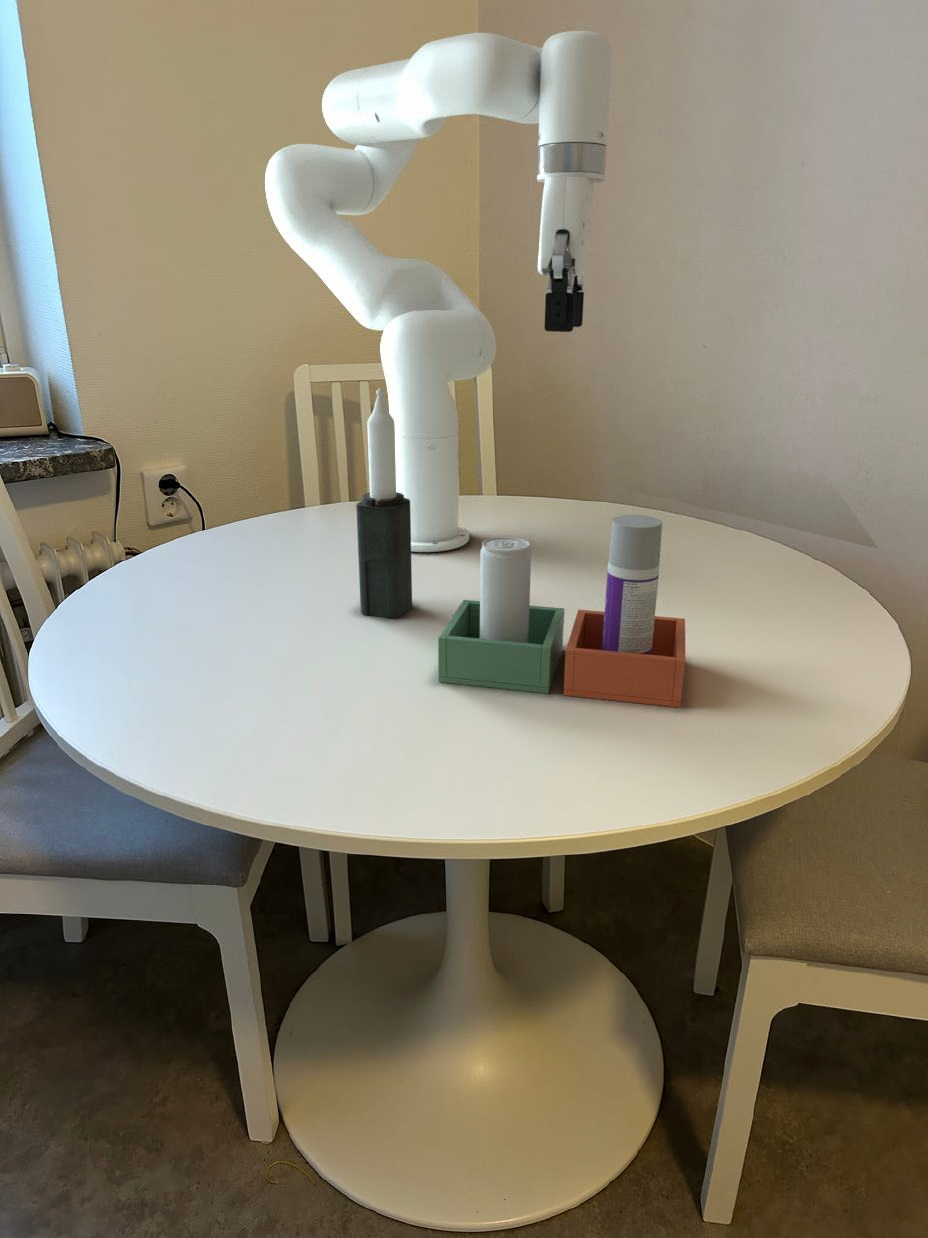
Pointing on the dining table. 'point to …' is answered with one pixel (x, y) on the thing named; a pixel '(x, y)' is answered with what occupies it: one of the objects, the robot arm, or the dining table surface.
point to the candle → (383, 525)
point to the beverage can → (505, 589)
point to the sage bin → (501, 651)
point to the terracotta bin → (625, 664)
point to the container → (632, 584)
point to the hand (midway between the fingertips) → (564, 328)
